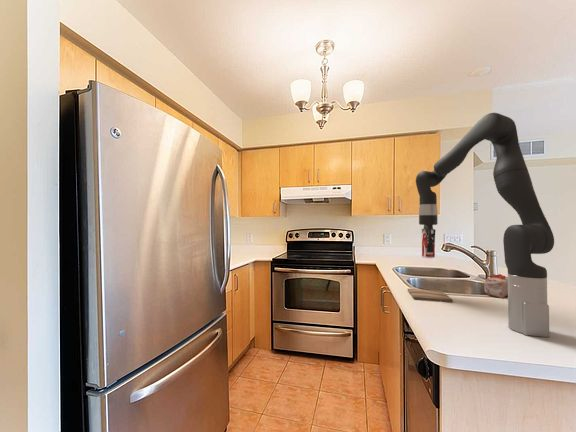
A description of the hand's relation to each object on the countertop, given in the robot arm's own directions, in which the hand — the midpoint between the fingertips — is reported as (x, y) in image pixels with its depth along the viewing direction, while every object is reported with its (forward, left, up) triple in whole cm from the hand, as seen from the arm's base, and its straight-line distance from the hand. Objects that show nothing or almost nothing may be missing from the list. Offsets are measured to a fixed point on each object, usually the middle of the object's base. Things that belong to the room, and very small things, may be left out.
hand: (428, 251), depth 121 cm
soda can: (0, 0, -3) cm, 3 cm away
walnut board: (0, 0, -21) cm, 21 cm away
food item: (+11, -32, -21) cm, 40 cm away
